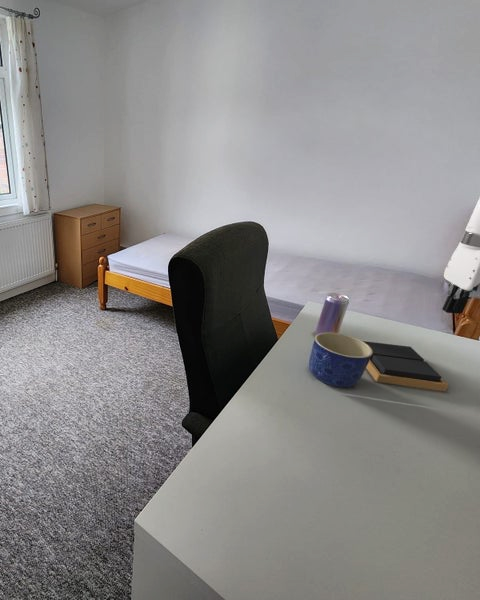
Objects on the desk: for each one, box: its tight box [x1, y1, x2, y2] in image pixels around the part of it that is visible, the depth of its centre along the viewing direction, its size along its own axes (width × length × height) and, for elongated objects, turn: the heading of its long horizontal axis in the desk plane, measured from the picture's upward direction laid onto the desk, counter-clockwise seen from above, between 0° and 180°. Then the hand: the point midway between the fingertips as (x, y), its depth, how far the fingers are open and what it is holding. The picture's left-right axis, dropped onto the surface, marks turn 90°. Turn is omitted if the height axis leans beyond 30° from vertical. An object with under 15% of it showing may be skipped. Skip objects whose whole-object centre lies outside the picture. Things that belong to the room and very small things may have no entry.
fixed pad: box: [362, 340, 425, 361], centre depth 99 cm, size 12×7×4 cm, turn 73°
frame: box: [366, 360, 449, 392], centre depth 96 cm, size 15×17×2 cm
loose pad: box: [371, 355, 442, 382], centre depth 92 cm, size 12×7×4 cm, turn 73°
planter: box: [308, 332, 373, 388], centre depth 91 cm, size 12×12×11 cm
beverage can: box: [314, 293, 350, 336], centre depth 109 cm, size 6×6×15 cm
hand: (451, 311), depth 85 cm, fingers closed
